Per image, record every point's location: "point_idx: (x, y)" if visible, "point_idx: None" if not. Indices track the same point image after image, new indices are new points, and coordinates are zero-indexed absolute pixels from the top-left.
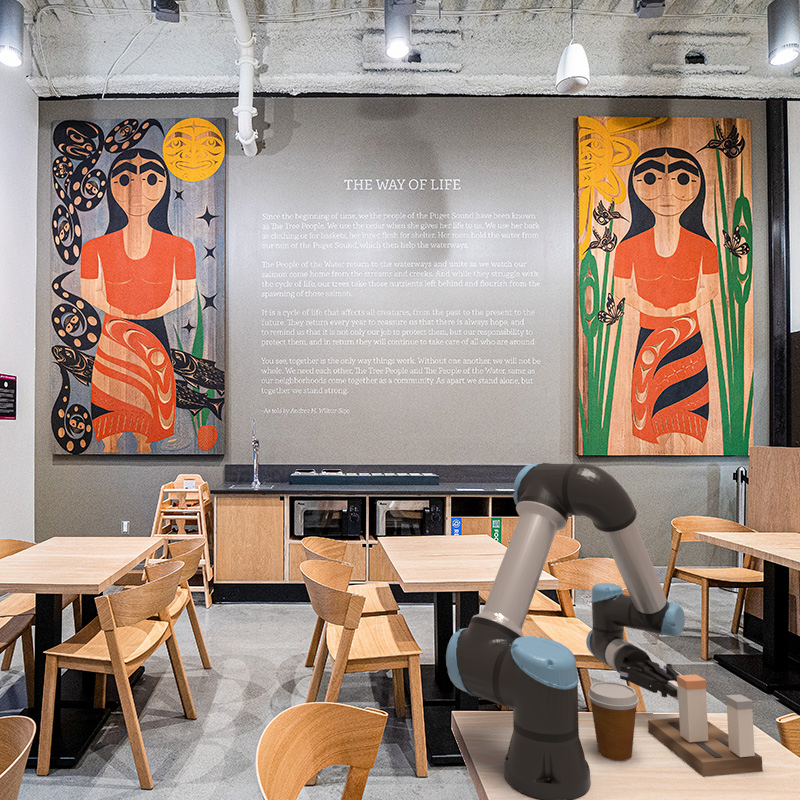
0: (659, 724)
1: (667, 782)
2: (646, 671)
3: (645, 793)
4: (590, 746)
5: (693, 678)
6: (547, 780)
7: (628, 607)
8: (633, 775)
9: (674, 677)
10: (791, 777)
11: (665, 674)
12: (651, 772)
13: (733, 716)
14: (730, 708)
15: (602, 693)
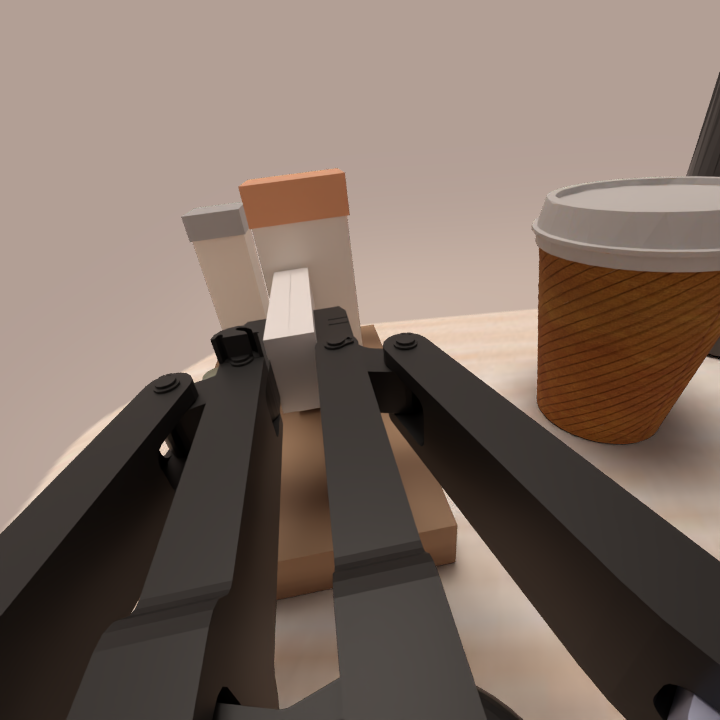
0: (410, 482)
1: (459, 333)
2: (407, 523)
3: (508, 311)
4: (698, 435)
5: (287, 176)
6: None
7: None
8: (531, 342)
9: (249, 327)
10: (194, 366)
11: (223, 444)
12: (488, 352)
13: (254, 255)
14: (248, 239)
15: (693, 190)
